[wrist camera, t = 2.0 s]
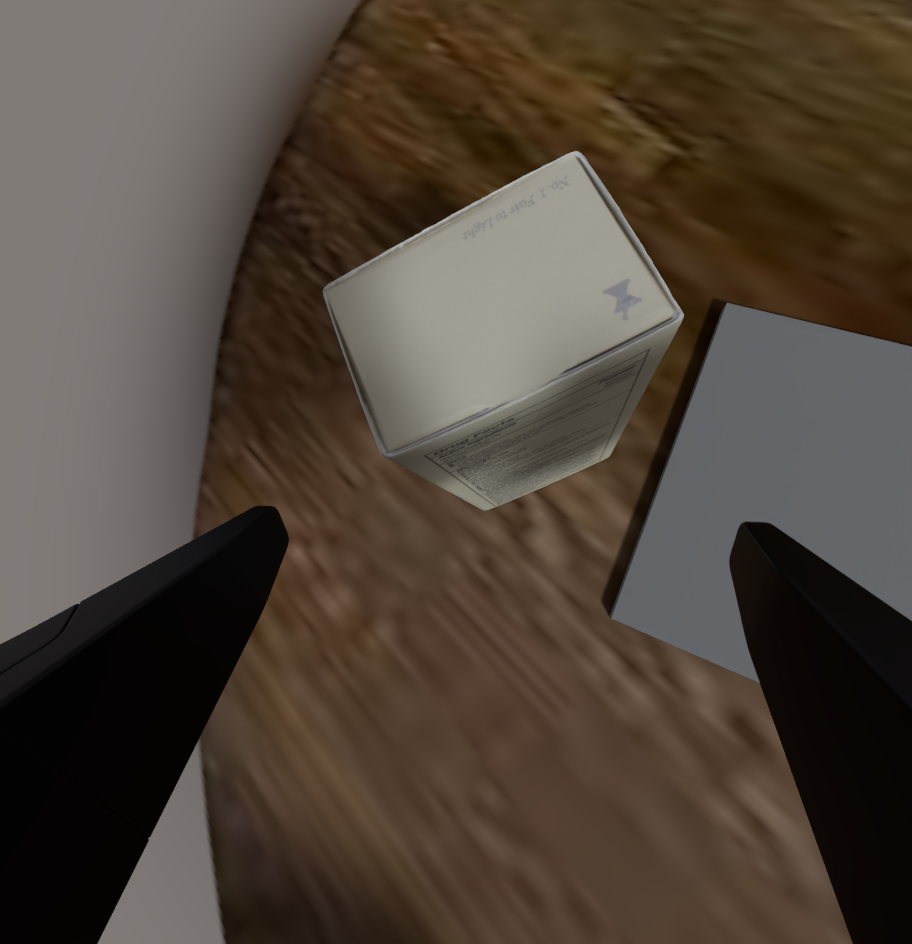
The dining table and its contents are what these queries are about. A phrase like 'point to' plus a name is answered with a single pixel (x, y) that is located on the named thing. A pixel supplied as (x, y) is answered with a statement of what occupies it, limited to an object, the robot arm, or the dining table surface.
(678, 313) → the skincare box
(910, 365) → the slate mat
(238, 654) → the robot arm
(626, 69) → the dining table surface
